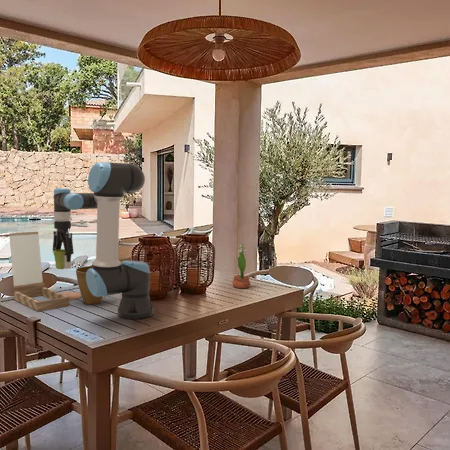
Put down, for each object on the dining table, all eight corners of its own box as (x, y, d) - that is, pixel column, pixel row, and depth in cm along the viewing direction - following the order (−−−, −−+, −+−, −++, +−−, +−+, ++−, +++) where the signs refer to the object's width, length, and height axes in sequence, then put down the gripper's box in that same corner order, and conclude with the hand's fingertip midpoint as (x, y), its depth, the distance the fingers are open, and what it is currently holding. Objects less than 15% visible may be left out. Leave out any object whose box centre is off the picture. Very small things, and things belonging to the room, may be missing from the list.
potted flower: (230, 284, 258) (231, 240, 255) (248, 284, 259) (249, 241, 256) (233, 289, 246) (234, 243, 243) (251, 289, 247) (252, 243, 244)
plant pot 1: (76, 266, 223) (76, 249, 222) (68, 270, 213) (68, 252, 213) (57, 266, 223) (57, 248, 223) (49, 269, 214) (48, 251, 213)
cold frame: (69, 305, 206) (69, 292, 206) (38, 311, 196) (37, 298, 195) (43, 294, 224) (43, 282, 224) (13, 299, 214) (13, 287, 214)
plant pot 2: (69, 303, 210) (68, 269, 208) (92, 296, 223) (92, 264, 221) (93, 308, 203) (92, 273, 201) (115, 301, 216) (115, 268, 214)
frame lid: (38, 231, 224) (37, 231, 225) (9, 233, 214) (8, 233, 215) (42, 282, 224) (41, 282, 224) (14, 286, 214) (13, 286, 214)
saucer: (86, 297, 222) (86, 295, 222) (60, 301, 212) (60, 300, 212) (73, 292, 231) (73, 290, 231) (48, 296, 221) (48, 294, 221)
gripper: (81, 221, 212) (81, 269, 214) (59, 218, 226) (59, 263, 228) (66, 222, 206) (66, 271, 208) (44, 219, 220) (45, 265, 223)
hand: (63, 267), depth 218 cm, fingers closed on plant pot 1, 8 cm apart
